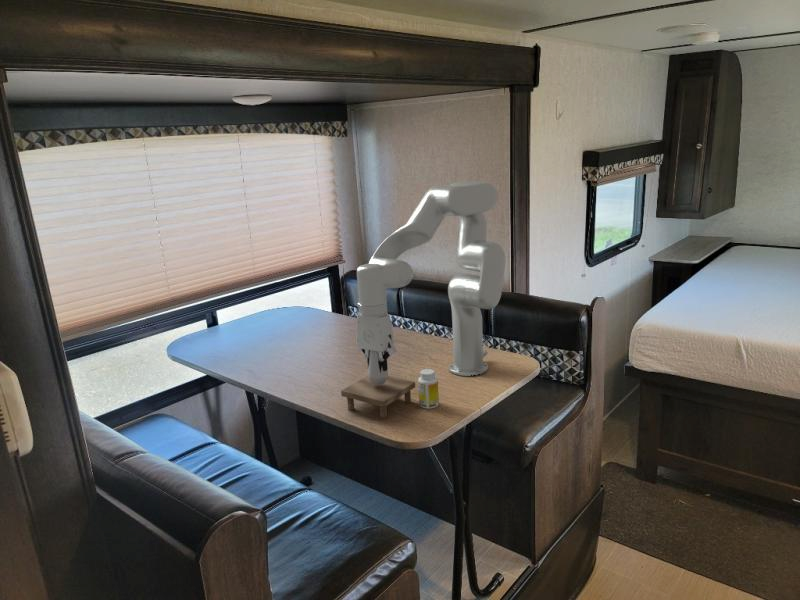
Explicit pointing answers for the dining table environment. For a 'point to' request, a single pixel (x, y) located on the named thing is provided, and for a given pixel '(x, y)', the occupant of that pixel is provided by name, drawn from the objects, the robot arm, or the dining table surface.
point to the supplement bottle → (428, 389)
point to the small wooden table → (378, 393)
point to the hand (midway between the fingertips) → (377, 371)
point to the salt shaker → (376, 370)
